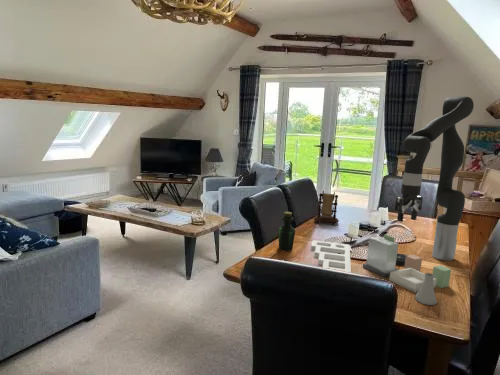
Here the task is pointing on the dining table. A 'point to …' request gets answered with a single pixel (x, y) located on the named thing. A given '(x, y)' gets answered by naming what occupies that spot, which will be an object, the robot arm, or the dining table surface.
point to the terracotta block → (413, 262)
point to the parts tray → (409, 279)
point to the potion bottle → (286, 233)
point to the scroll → (327, 209)
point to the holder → (332, 255)
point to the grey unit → (382, 255)
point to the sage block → (441, 276)
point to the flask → (427, 291)
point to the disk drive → (401, 259)
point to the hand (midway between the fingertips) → (406, 220)
